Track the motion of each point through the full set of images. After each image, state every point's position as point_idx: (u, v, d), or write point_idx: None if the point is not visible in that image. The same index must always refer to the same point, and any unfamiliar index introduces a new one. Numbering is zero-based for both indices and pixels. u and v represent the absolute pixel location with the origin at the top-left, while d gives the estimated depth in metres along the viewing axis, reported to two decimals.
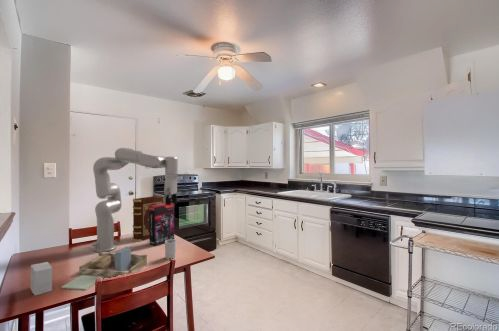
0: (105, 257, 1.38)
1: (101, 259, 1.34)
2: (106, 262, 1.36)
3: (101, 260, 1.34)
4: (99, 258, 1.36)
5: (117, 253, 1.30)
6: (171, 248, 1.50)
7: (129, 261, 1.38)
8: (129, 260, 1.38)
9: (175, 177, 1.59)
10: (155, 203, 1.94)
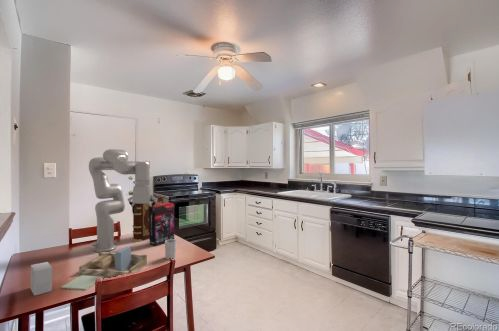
0: (105, 257, 1.38)
1: (101, 259, 1.35)
2: (106, 262, 1.36)
3: (101, 260, 1.34)
4: (99, 258, 1.36)
5: (117, 253, 1.30)
6: (171, 248, 1.50)
7: (129, 261, 1.38)
8: (129, 260, 1.38)
9: None
10: None
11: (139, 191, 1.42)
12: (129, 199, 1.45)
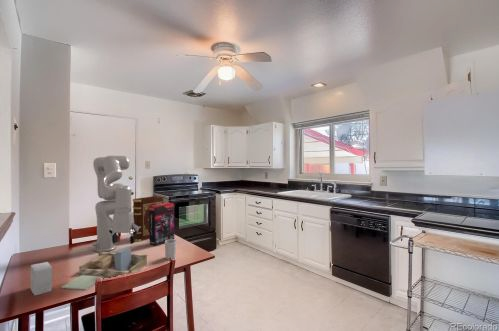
0: (105, 257, 1.38)
1: (101, 259, 1.35)
2: (106, 262, 1.36)
3: (101, 260, 1.34)
4: (99, 258, 1.37)
5: (117, 253, 1.30)
6: (171, 248, 1.50)
7: (129, 261, 1.38)
8: (129, 260, 1.38)
9: None
10: (155, 203, 1.94)
11: (119, 219, 1.32)
12: (109, 227, 1.35)
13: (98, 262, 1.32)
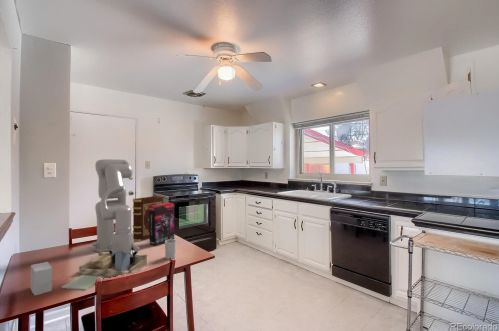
0: (105, 257, 1.38)
1: (101, 259, 1.35)
2: (106, 262, 1.36)
3: (101, 260, 1.34)
4: (99, 258, 1.37)
5: (117, 253, 1.30)
6: (171, 248, 1.50)
7: (129, 261, 1.38)
8: (129, 260, 1.38)
9: None
10: (155, 203, 1.94)
11: (119, 240, 1.32)
12: (109, 247, 1.35)
13: (98, 262, 1.32)
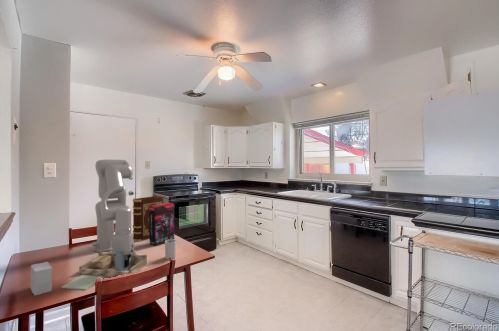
0: (105, 257, 1.38)
1: (101, 259, 1.34)
2: (106, 262, 1.36)
3: (101, 260, 1.34)
4: (99, 258, 1.36)
5: (117, 253, 1.30)
6: (171, 248, 1.50)
7: (129, 261, 1.38)
8: (129, 260, 1.38)
9: None
10: (155, 203, 1.94)
11: (119, 241, 1.32)
12: None
13: (98, 262, 1.32)
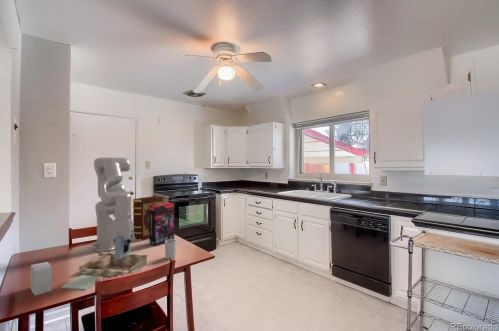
0: (105, 257, 1.38)
1: (101, 259, 1.35)
2: (106, 262, 1.36)
3: (101, 260, 1.34)
4: (99, 258, 1.37)
5: (117, 238, 1.31)
6: (171, 248, 1.50)
7: (129, 246, 1.38)
8: (129, 245, 1.38)
9: None
10: (155, 203, 1.94)
11: (119, 226, 1.32)
12: None
13: (98, 262, 1.32)
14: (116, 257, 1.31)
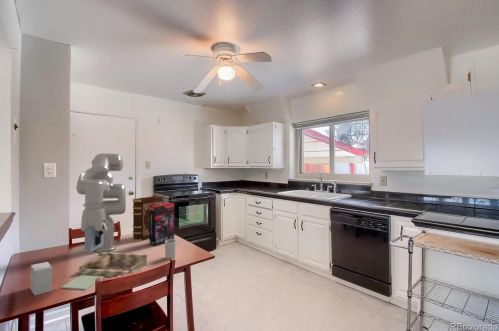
0: (104, 257, 1.38)
1: (100, 259, 1.35)
2: (106, 262, 1.36)
3: (101, 260, 1.34)
4: (98, 258, 1.36)
5: (87, 229, 1.19)
6: (171, 248, 1.50)
7: (101, 239, 1.27)
8: (101, 238, 1.27)
9: None
10: (155, 203, 1.94)
11: (89, 216, 1.21)
12: None
13: (98, 262, 1.32)
14: (86, 250, 1.19)
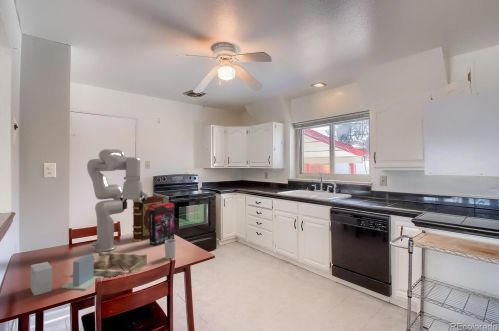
0: (104, 257, 1.38)
1: (102, 259, 1.35)
2: (107, 261, 1.37)
3: (103, 260, 1.34)
4: (99, 258, 1.36)
5: (75, 263, 1.16)
6: (171, 248, 1.50)
7: (91, 271, 1.24)
8: (91, 270, 1.24)
9: None
10: (155, 203, 1.94)
11: (129, 187, 1.42)
12: (119, 195, 1.45)
13: (100, 262, 1.33)
14: (74, 284, 1.16)
